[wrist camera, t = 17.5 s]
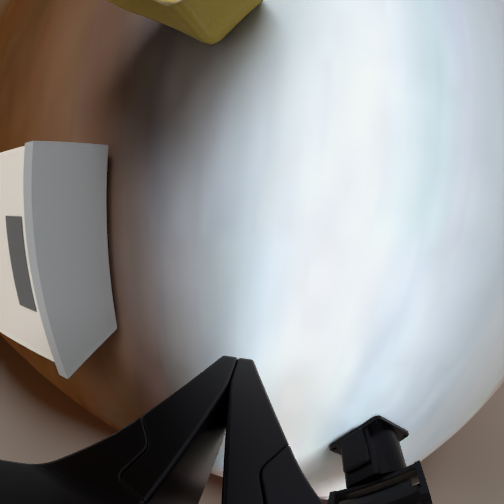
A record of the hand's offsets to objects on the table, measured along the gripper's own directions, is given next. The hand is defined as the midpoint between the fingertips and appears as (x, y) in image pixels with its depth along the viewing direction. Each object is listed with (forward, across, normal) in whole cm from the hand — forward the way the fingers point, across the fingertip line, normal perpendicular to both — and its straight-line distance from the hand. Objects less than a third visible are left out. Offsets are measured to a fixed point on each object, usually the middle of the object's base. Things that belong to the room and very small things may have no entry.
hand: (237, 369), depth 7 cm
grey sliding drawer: (+10, +17, 0) cm, 20 cm away
